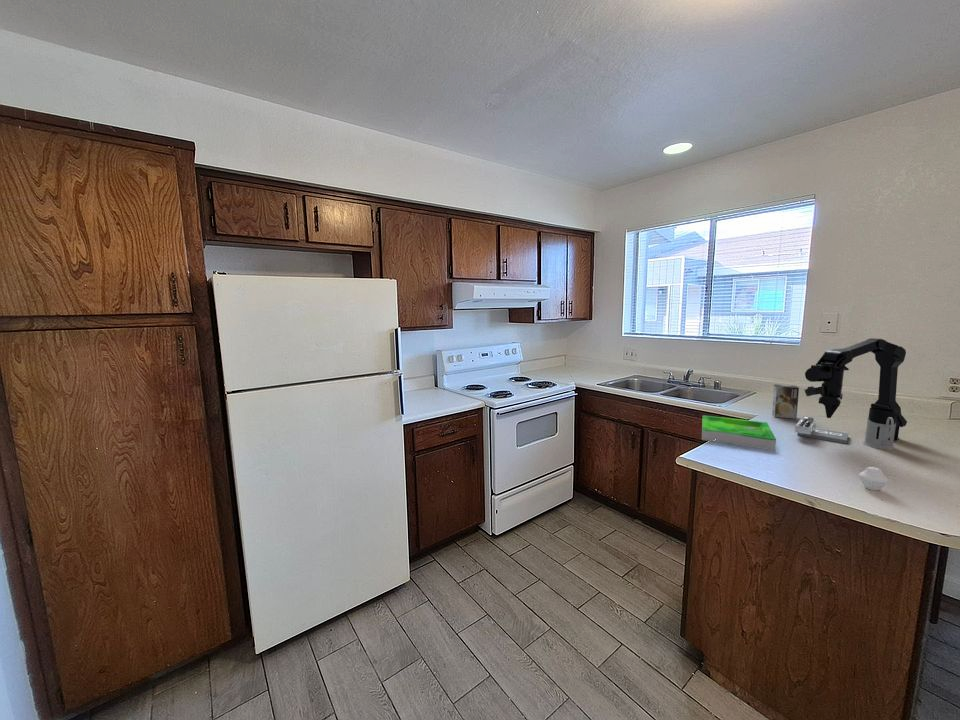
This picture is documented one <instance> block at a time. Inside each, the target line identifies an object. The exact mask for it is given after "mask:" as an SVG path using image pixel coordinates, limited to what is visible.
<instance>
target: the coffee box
mask: <svg viewBox="0 0 960 720" xmlns="http://www.w3.org/2000/svg"><path fill="white" fill-rule="evenodd" d="M799 393H800V387H799V386H797V385H790V384H773V395H772V397H773V398H772V408H771V409H772V411H771V414H772V416H773V417H775V418H785V419H786V418H787V419H797V416H798V406H799Z"/></svg>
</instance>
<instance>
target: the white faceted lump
mask: <svg viewBox="0 0 960 720" xmlns="http://www.w3.org/2000/svg"><path fill="white" fill-rule="evenodd" d="M858 474H859V475H858V477H859V480H860V481H861V484H862V485H863V487H864V488H865V489H867V488H868V490H870V489H871V491H874V490H879V491H880V490H881V489H882V488H884V487H885V486H886V484H887V483H888V481H889V480H888V478H887V477H886V476H885V475H884V474H883V470H881V469H880V468H878V467H876V466H868V467H866V468H865V469H864V470H863V471H861V472H859V473H858Z"/></svg>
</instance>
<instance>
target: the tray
mask: <svg viewBox="0 0 960 720" xmlns="http://www.w3.org/2000/svg"><path fill="white" fill-rule="evenodd" d="M701 421H702V422H701V440H702V441H707V442H714V441H713V440H715V439H716V440H715V443H722V444H723V443H724V444H728V443H731V445H735V444H738V445H737V446H742V445H744V447H749V446H750V448H758V449H763V448H764V450H770V449H771V451H776V443H777V438H776V437H775V434H774V433H773V431H772V429H771V427H770V425H769V423H768V422H766V421H765V422H764V421H757V420H749V419H740V418H732V417H724V416H723V417H721V416H715V415H714V416H713V415H705V414H703V415H702V420H701Z"/></svg>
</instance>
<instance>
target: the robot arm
mask: <svg viewBox="0 0 960 720" xmlns="http://www.w3.org/2000/svg"><path fill="white" fill-rule="evenodd" d="M867 353H872V354H873V355H874V359H875V361H876V363H877V365H879V380H878V381H879V382H878V399H876V401H875V402H874V403H871V404H870V407H880V408H888V409H892V410H896V411H897V415H896V427H895V434H894V441H897V442H898V441H899V434H900V433H899V432H900V428H904V427H906V426H907V423H908V421H907V419H906V418H905V417H904V416H903V414H902V409H901V406H900V405H899V403H898V402H897V399H896V398H897V385H898V371H899V370H898V369H899V366H901V365H902V364H903V363H904V361H905V360H906V359H905V358H906V354H907V351H906V349H905V348H904V347H903V346H900V345H897V344H894V343H893V342H889V341H887V340H885V339H883V338H875V337H873V338H867V339H866V340H864V341H861V342H859V343H856V344H853V345H850V346H847V347H845V348H844V347H842V348H834V349H828V350H825V351H824V353H823V355H821V357H820V359H818V361H817V362H816V363H815V364H811V365H810V368H808V369H806V370H805V372H804V376H805V378H806V380H807V381H808V382H813V383H814V382H815V383H816V382H822V383H821V384H820V385H814V386H813V385H811V386H808V387H805V388H804V393H805V395H806V397H811V396H816V395H819V396H820V397H819V398H818V404H822V405H823V407H824V409H825V416H826V418H827V419H831V418H832V416H833V415H834V413H835V412H836V411H837V409H838V408H839V407H840V405H841V404H842V401H841V400H843V396H844V395H843V392H842V391H843V382H844V373H845V371H849V370H850V368H849V367H847V366H846V365H848V364H849V363H852V361H853V359H854V358H857V357H859V356H862V355H865V354H867Z"/></svg>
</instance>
